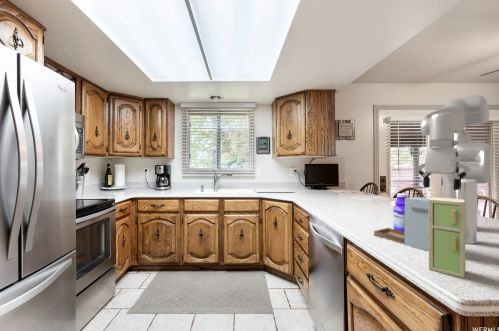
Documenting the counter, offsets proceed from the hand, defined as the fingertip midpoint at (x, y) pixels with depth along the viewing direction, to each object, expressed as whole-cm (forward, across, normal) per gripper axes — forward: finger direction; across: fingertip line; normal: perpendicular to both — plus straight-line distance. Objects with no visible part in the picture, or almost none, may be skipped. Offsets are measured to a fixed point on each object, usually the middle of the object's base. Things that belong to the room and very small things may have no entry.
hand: (441, 188), depth 92 cm
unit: (+22, 0, +10) cm, 24 cm away
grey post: (+22, -4, -12) cm, 25 cm away
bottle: (+22, +16, -4) cm, 27 cm away
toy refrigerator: (+22, -12, +26) cm, 36 cm away
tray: (+22, +13, +8) cm, 27 cm away
